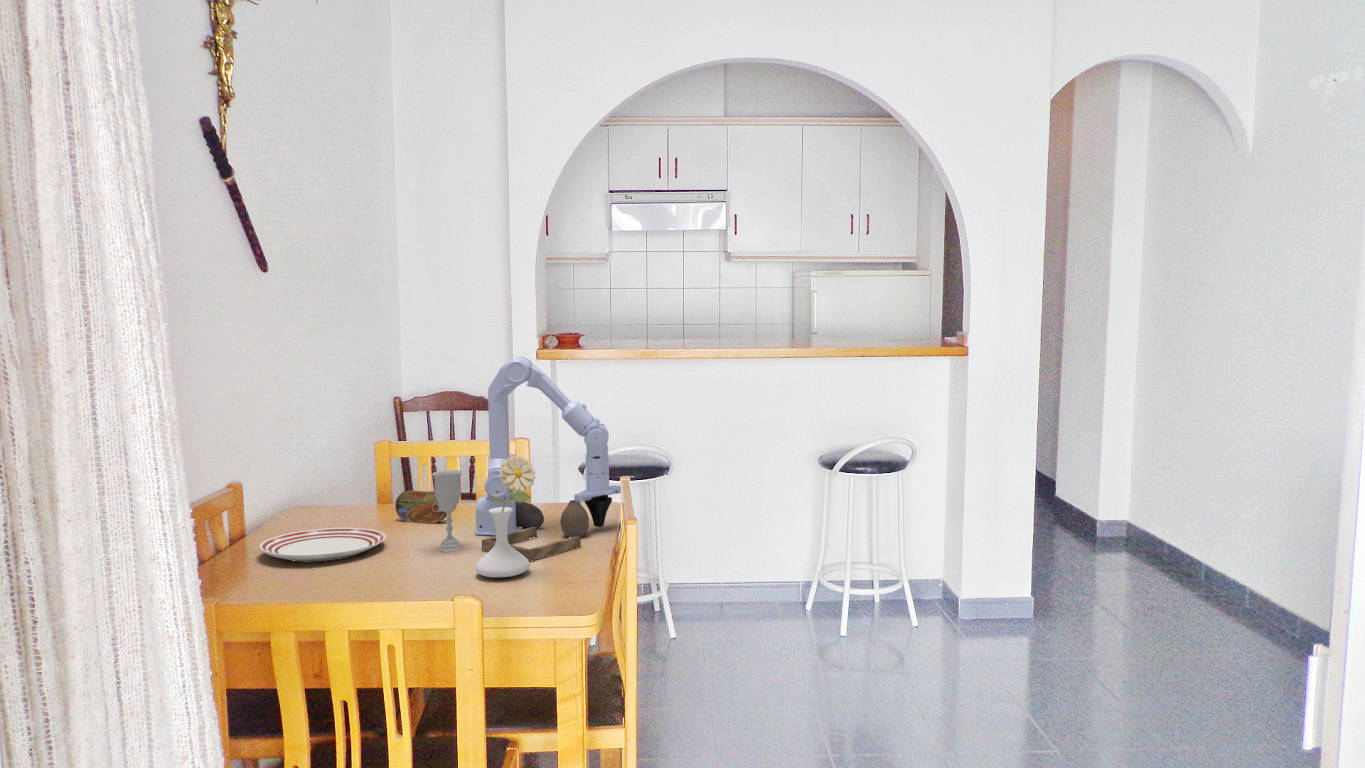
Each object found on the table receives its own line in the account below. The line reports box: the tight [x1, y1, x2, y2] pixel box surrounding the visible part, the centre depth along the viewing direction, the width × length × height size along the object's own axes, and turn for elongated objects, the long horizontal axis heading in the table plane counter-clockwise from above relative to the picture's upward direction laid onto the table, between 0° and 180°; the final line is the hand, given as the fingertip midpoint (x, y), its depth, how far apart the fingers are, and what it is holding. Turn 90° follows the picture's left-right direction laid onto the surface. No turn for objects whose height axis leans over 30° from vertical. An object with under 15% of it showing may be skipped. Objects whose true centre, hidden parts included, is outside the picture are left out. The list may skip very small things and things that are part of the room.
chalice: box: [431, 469, 463, 553], centre depth 213 cm, size 7×7×18 cm
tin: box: [394, 490, 447, 524], centre depth 242 cm, size 15×3×8 cm, turn 73°
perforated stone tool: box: [516, 501, 545, 529], centre depth 234 cm, size 15×5×7 cm, turn 59°
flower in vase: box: [474, 455, 536, 579], centre depth 192 cm, size 13×11×25 cm
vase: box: [560, 499, 590, 538], centre depth 223 cm, size 7×7×9 cm
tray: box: [481, 527, 582, 561], centre depth 212 cm, size 16×16×2 cm
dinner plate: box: [258, 527, 387, 562], centre depth 213 cm, size 27×27×3 cm
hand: (598, 526), depth 229 cm, fingers closed
